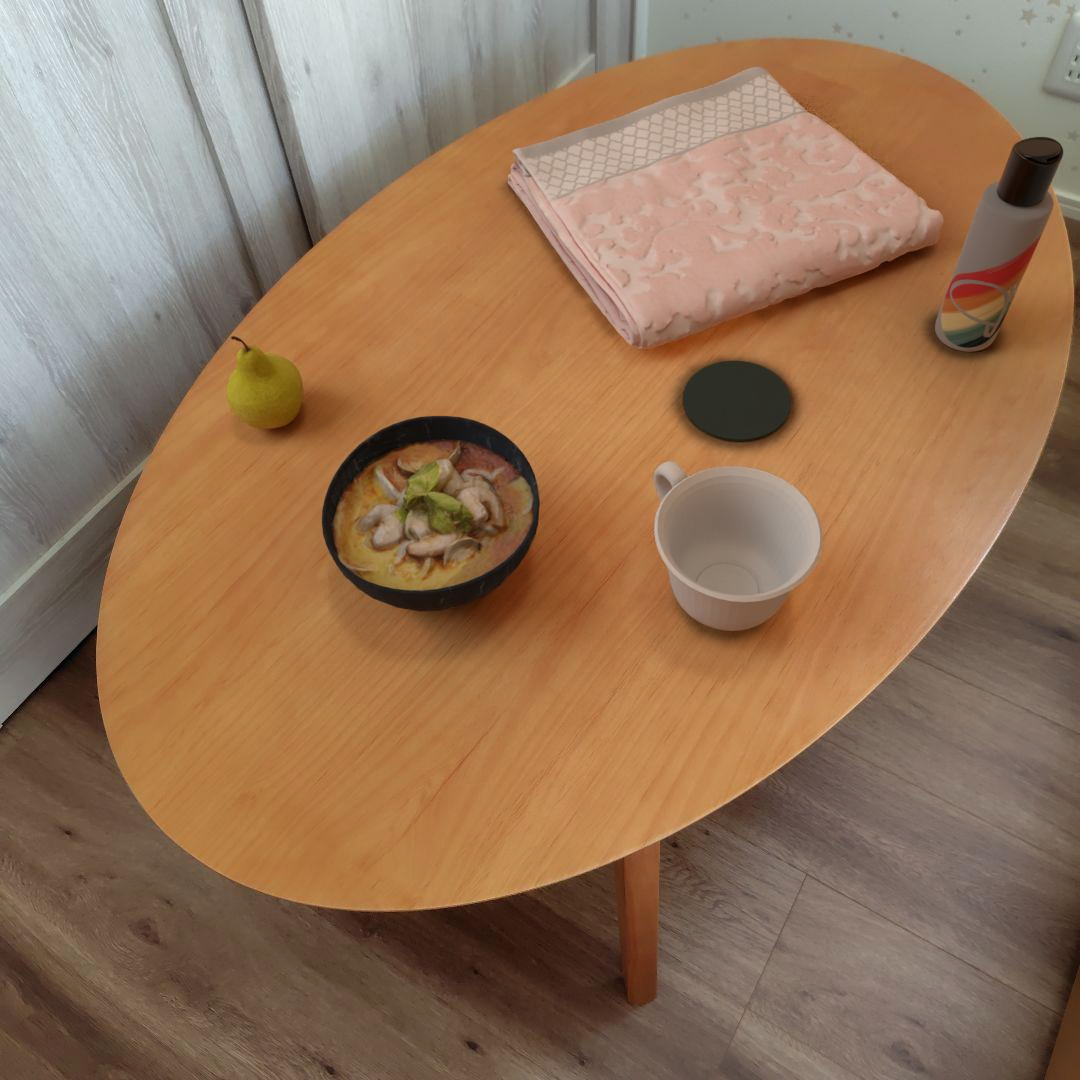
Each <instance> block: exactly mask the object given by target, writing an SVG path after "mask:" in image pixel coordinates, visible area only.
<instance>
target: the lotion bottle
mask: <svg viewBox="0 0 1080 1080" xmlns="http://www.w3.org/2000/svg"><path fill="white" fill-rule="evenodd" d="M1063 156H1064V148H1063V146H1062V144H1061V143H1060V142H1059V141H1058V140H1057V139H1054V138H1052V137H1048V136H1033V137H1028V138H1025V139H1022V140H1019V141H1018V142H1016V143H1014V144H1013V146H1012V148H1011V151H1010V153H1009V155H1008V159H1007V161H1006V164H1005V166H1004V169H1003V171H1002V174H1001V177H1000V179H999V180H997V181H994V182H992V183H991V184H989V185H988V186H987V187H986V188H985V189H984V191H983V193H982V194H981V197H980V200H979V201H978V205H977V207H976V210H975V213H974V216H973V218H972V221H971V224H970V226H969V229H968V232H967V235H966V238H965V240H964V243H963V246H962V247H961V251H960V254H959V256H958V259H957V262H956V264H955V268H954V270H953V273H952V276H951V278H950V281H949V284H948V287H947V289H946V292H945V295H944V297H943V300H942V303H941V305H940V308H939V311H938V314H937V317H936V320H935V324H934V331H935V334H936V337H937V339H939V340H940V342H942V344H944V345H945V346H947V347H949V348H950V349H952V350H956V351H960V352H965V353H966V352H967V353H969V352H970V353H971V352H978V351H982V350H984V349H986V348H988V347H990V346H991V345H992V344H993V343H994V341H995V339H996V338H997V336H998V334H999V332H1000V329H1001V327H1002V326H1003V323H1004V321H1005V319H1006V317H1007V314H1008V312H1009V309H1010V307H1011V305H1012V303H1013V300H1014V298H1015V296H1016V294H1017V291H1018V289H1019V287H1020V285H1021V282H1022V280H1023V278H1024V275H1025V273H1026V271H1027V269H1028V267H1029V264H1030V262H1031V260H1032V258H1033V255H1034V253H1035V251H1036V249H1037V247H1038V244H1039V242H1040V240H1041V238H1042V235H1043V233H1044V231H1045V228H1046V226H1047V224H1048V222H1049V219H1050V217H1051V215H1052V212H1053V209H1054V205H1055V204H1054V203H1055V202H1054V198H1053V197H1052V194H1051V193H1050V192H1049V189H1050V187H1051V185H1052V182H1053V180H1054V177H1055V175H1056V174H1057V171H1058V169H1059V166H1060V164H1061V161H1062V159H1063Z"/></svg>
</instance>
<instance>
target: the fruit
mask: <svg viewBox="0 0 1080 1080" xmlns="http://www.w3.org/2000/svg"><path fill="white" fill-rule="evenodd" d="M230 339H231V340H232V341H233V340H235V341H237V342H241V344H242V345H243V347H240V348H239V349H238V352H237V354H236V367H235V369H234V370H233V372H232V373H231V375H230V376H229V378H228V381H227V386H226V398H227V402H228V405H229V407H230V409H231V411H232V412H233V413H234V415H235V416H236V417H237V418H238V419H239V420H240V421H242V422H243V423H245V424H246V425H248V426H250V427H252V428H255V429H259V430H266V429H276V428H277V429H278V428H282V427H285V426H287V425H289V424H290V423H291V422H292V421H293V420H294V419H295V418H296V417H297V416H298V414H299V412H300V410H301V407H302V404H303V401H304V400H303V399H304V382H303V378H302V374H301V372H300V370H299V369H298V368H297V366H296V365H295V364H294V363H293V362H291V360H289V359H288V358H286V357H284V356H281V355H280V354H279V355H278V354H274V353H268V352H267V353H264V352H263V350H261V348H259V347H257V346H255V345H247V344H246V342H245V341H244V340H243V339H241V338H240V337H238V336H235V335H233V336H230Z"/></svg>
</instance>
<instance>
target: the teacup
mask: <svg viewBox="0 0 1080 1080" xmlns="http://www.w3.org/2000/svg"><path fill="white" fill-rule="evenodd" d="M653 484H654V488H655V491H656V494H657V496H658V499H659V500H660V503H659V505H658V507H657V511H656V512H655V517H654V522H653V523H654V525H653V532H654V541H655V544H656V548H657V550H658V553H659V555H660V558H661V559H662V561H663V562H664V564H665V565H666V568H667V572H668V578H669V582H670V586H671V589H672V590H671V591H672V592H673V595H674V597H675V599H676V601H677V602H678V604H679V605H680V607H681V608H682V609H683V611H684V612H685V613H687V614H688V615H689V616H690V617H691V618H693V619H694V620H695V621H697V622H698V623H700V624H702V625H704V626H706V627H708V628H712V629H715V630H720V631H726V632H728V631H729V632H736V631H737V632H738V631H739V632H740V631H744V630H749V629H751V628H754V627H758V626H760V625H761V624H763V623H765V622H767V621H768V620H769V619H770V618H772V617H773V616H774V615H775V614H776V613H778V611H779V610H780V609H781V607H782V606H783V605H784V604H785V602H786V600H787V599H788V597H789V596H790V594H791V592H792V591H793V589H795V588H796V587H798V586H799V585H801V583H803V582H804V581H805V580H807V578H808V577H809V576H810V575H811V574H812V572H813V571H814V569H815V568H816V566H817V564H818V563H819V561H820V558H821V555H822V551H823V542H824V536H823V535H824V534H823V528H822V523H821V520H820V518H819V515H818V513H817V511H816V509H815V508H814V506H813V504H812V502H810V500H809V499H808V498H807V496H805V494H804V493H803V492H802V491H801V490H800V489H799V488H797V487H796V486H795V485H793V484H792V483H791V482H789V481H787V480H785V479H784V478H782V477H780V476H778V475H777V474H773V473H771V472H768V471H765V470H762V469H758V468H754V467H748V466H742V465H741V466H740V465H724V466H722V465H721V466H715V467H711V468H707V469H703V470H700V471H698V472H695V473H693V474H690V475H687V473H686V471H685V470H684V469H683V467H682V466H680V464H678V463H677V462H674V461H671V460H667V461H665V462H663V463H661V464H659V465H658V466H657V468H656V469H655V471H654V473H653Z"/></svg>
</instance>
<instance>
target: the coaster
mask: <svg viewBox="0 0 1080 1080" xmlns="http://www.w3.org/2000/svg"><path fill="white" fill-rule="evenodd" d="M682 407H683V411H684V413H685V415H686V418H687V419H688V420H689V421H690V422H691V424H692V425H693V426H694V427H695V428H696V429H698V430H699V431H700V432H702V433H704V434H706V435H708V436H710V437H712V438H713V439H718V440H721V441H724V442H725V441H726V442H730V443H732V442H733V443H747V442H748V443H749V442H755V441H758V440H762V439H765V438H767V437H770V436H771V435H773V434H774V433H776V432H778V430H780V429H781V428H782V426H784V424H785V423H786V422H787V420H788V418H789V416H790V413H791V409H792V396H791V392H790V390H789V388H788V386H787V384H786V383H785V381H784V380H783V379H782V378H781V377H780V376H779V375H778V374H776V373H775V372H774V371H772V370H771V369H770V368H767V367H766V366H763V365H760V364H758V363H754V362H750V361H746V360H723V361H718V362H714V363H712V364H711V363H710V364H709V365H706V366H703V367H702V368H701V369H699V370H697V372H695V373H694V374H693V375H692V376H691V377H689V379H688V381H687V382H686V384H685V386H684V389H683V391H682Z"/></svg>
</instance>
